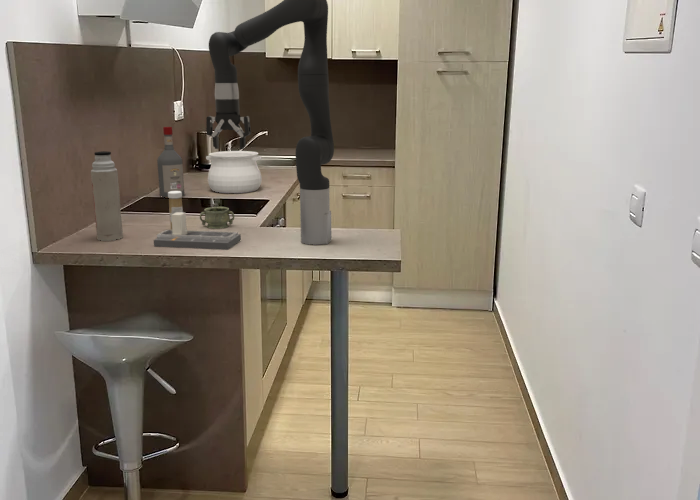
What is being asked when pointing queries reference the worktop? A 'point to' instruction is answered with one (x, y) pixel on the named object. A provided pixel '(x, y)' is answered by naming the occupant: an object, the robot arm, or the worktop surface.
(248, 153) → the pot
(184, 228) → the block
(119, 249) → the worktop surface
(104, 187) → the thermos bottle
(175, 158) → the liquor
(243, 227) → the worktop surface
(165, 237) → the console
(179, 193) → the sprinkles bottle
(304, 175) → the robot arm
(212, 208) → the vessel
